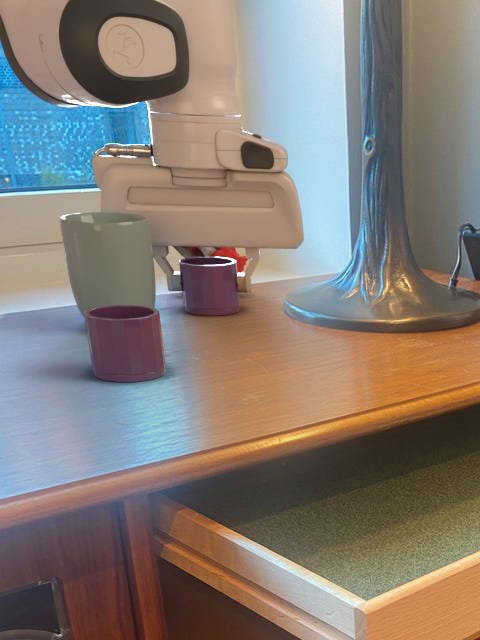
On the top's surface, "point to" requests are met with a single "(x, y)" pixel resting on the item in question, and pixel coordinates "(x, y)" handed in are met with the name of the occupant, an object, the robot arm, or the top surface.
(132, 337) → the maroon cup
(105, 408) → the top surface
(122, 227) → the cup
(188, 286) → the purple cup
